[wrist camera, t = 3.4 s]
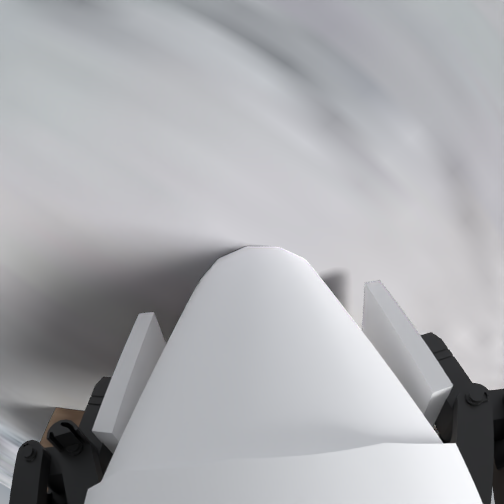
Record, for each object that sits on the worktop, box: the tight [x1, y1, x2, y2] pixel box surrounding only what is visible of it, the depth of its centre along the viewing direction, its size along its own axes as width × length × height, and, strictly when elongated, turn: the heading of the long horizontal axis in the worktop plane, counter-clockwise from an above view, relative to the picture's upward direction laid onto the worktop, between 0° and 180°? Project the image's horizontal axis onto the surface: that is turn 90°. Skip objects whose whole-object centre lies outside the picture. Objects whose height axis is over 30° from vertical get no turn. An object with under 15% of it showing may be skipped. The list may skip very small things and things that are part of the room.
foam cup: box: [84, 246, 483, 504], centre depth 9 cm, size 10×9×13 cm
